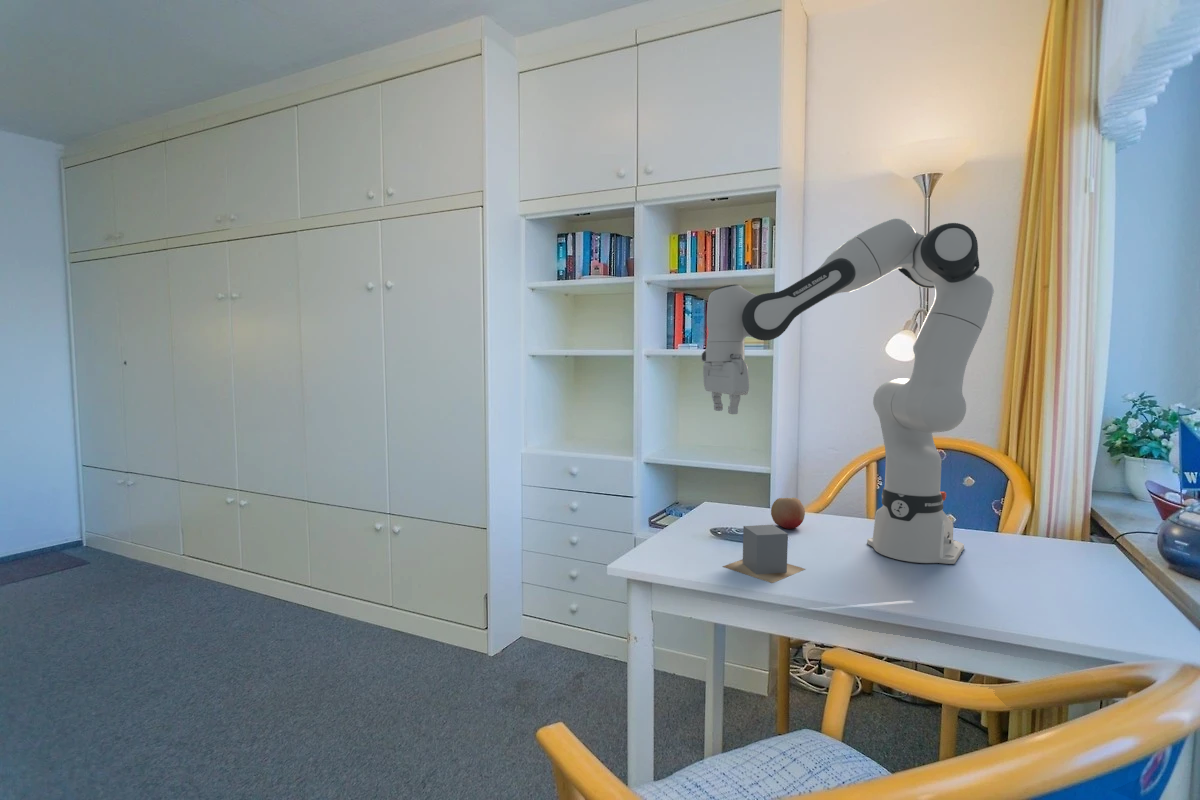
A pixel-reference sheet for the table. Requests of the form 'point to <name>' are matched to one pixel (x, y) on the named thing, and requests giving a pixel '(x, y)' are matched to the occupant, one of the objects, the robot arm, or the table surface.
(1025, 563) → the table surface
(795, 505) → the fruit
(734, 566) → the cork mat
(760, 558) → the plain grey cube
